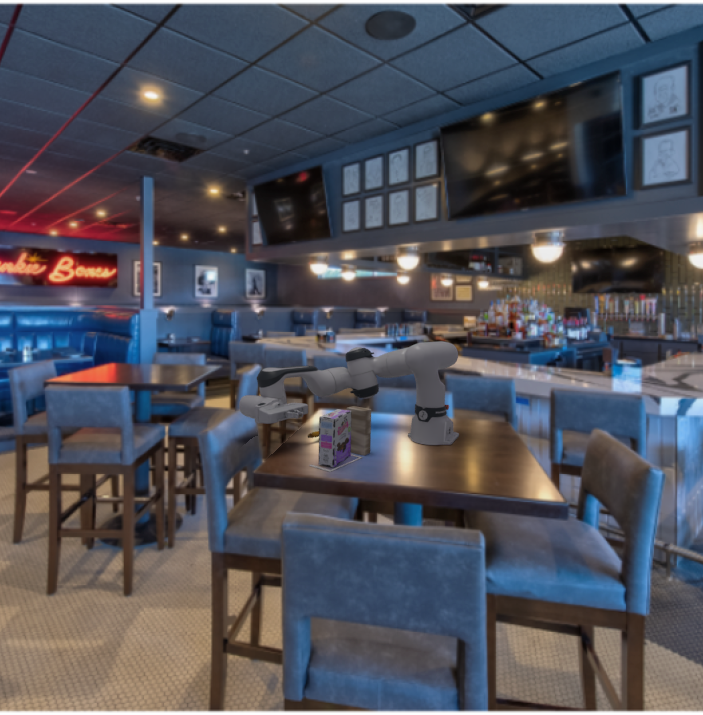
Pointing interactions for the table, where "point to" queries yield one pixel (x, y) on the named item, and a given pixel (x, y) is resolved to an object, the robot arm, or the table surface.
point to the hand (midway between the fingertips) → (300, 415)
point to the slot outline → (339, 466)
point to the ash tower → (360, 430)
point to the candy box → (334, 437)
